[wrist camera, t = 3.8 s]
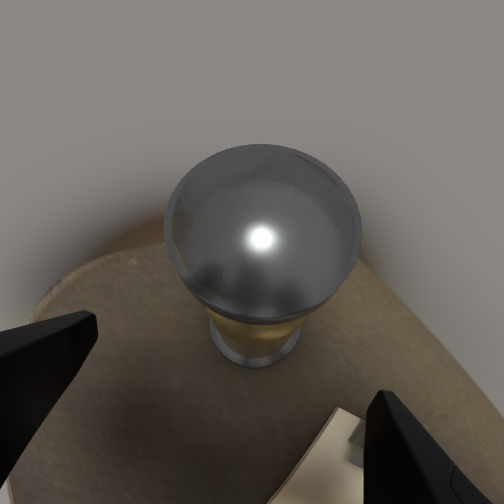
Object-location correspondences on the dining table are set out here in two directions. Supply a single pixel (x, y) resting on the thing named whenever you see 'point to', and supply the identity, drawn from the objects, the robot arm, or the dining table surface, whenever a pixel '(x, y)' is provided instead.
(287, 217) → the metal capped yellow cylinder
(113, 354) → the dining table surface
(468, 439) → the dining table surface
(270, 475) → the dining table surface
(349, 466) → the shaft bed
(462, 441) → the dining table surface
